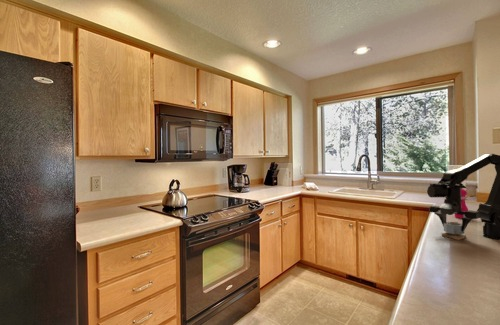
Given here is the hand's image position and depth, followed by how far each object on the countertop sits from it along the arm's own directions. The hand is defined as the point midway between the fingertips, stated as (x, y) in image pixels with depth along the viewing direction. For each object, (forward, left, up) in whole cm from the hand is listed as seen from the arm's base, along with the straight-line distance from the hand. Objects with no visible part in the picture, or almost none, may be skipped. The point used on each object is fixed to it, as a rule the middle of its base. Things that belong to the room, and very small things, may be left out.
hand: (453, 229), depth 117 cm
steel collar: (0, 0, -1) cm, 1 cm away
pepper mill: (+16, -49, -4) cm, 52 cm away
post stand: (0, 0, -4) cm, 4 cm away
